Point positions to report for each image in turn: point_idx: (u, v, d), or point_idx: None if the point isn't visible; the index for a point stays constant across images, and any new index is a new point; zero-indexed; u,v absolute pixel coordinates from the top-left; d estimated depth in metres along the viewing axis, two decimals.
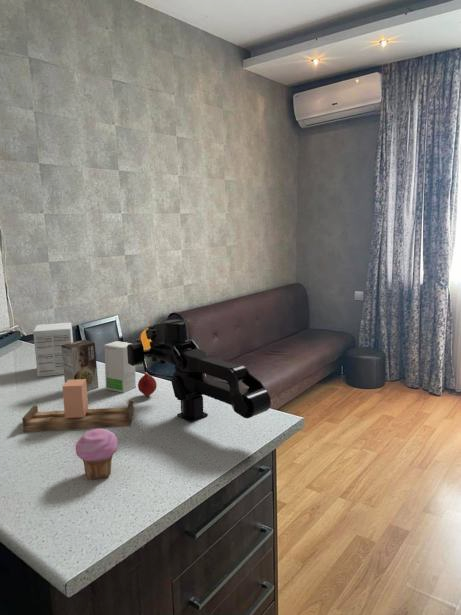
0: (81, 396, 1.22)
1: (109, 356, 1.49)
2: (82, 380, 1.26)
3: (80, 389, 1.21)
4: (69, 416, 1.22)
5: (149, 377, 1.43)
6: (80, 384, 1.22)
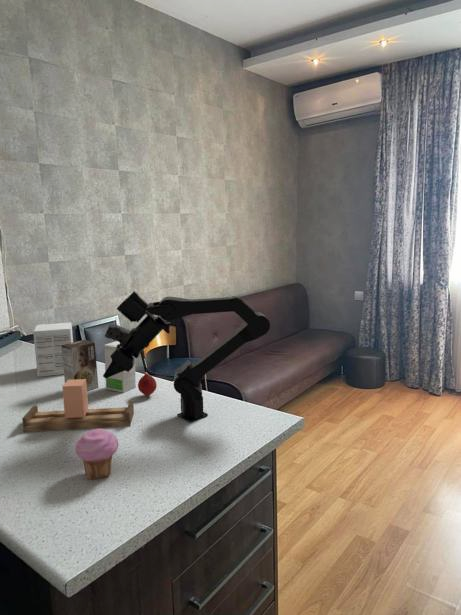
0: (81, 396, 1.22)
1: (109, 356, 1.49)
2: (82, 380, 1.26)
3: (80, 389, 1.21)
4: (69, 416, 1.22)
5: (149, 377, 1.43)
6: (80, 384, 1.22)
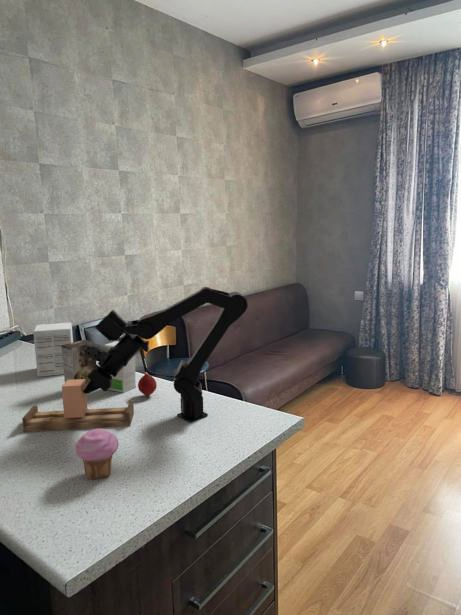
0: (80, 396, 1.22)
1: None
2: (81, 380, 1.26)
3: (79, 389, 1.21)
4: (69, 416, 1.22)
5: (149, 377, 1.43)
6: (79, 384, 1.22)
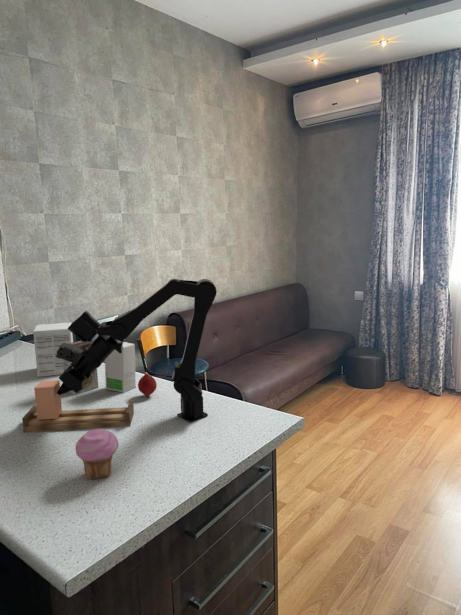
0: (53, 397, 1.21)
1: (109, 356, 1.49)
2: (55, 381, 1.25)
3: (52, 390, 1.21)
4: (42, 417, 1.22)
5: (149, 377, 1.43)
6: (52, 386, 1.21)
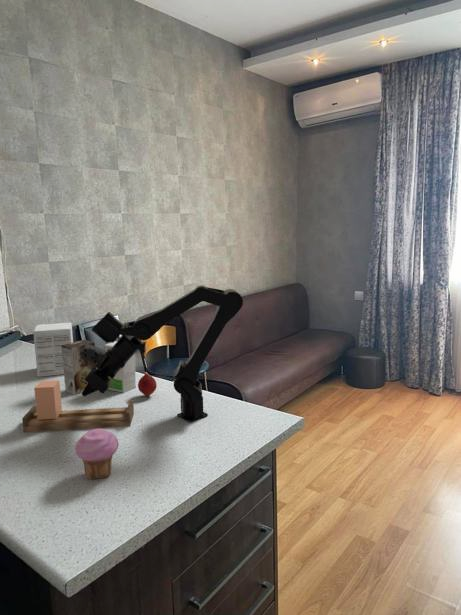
0: (53, 397, 1.21)
1: None
2: (55, 381, 1.25)
3: (52, 390, 1.21)
4: (42, 417, 1.22)
5: (149, 377, 1.43)
6: (52, 386, 1.21)
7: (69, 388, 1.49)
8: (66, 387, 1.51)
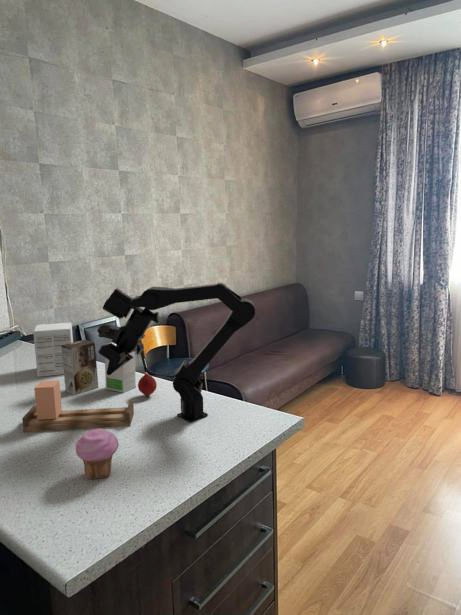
0: (53, 397, 1.21)
1: None
2: (55, 381, 1.25)
3: (52, 390, 1.21)
4: (42, 417, 1.22)
5: (149, 377, 1.43)
6: (52, 386, 1.21)
7: (69, 388, 1.49)
8: (66, 387, 1.51)
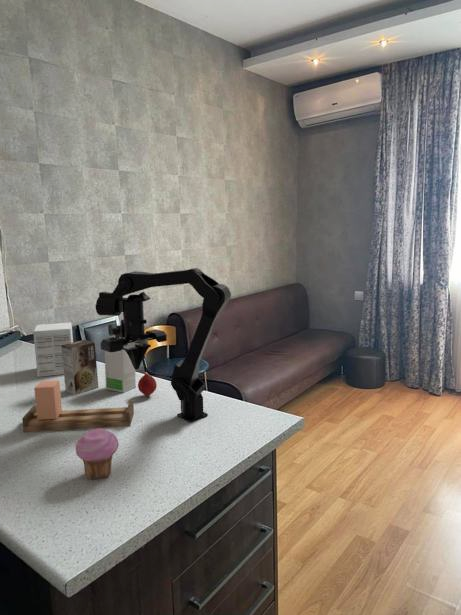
0: (53, 397, 1.21)
1: (109, 356, 1.49)
2: (55, 381, 1.25)
3: (52, 390, 1.21)
4: (42, 417, 1.22)
5: (149, 377, 1.43)
6: (52, 386, 1.21)
7: (69, 388, 1.49)
8: (66, 387, 1.51)
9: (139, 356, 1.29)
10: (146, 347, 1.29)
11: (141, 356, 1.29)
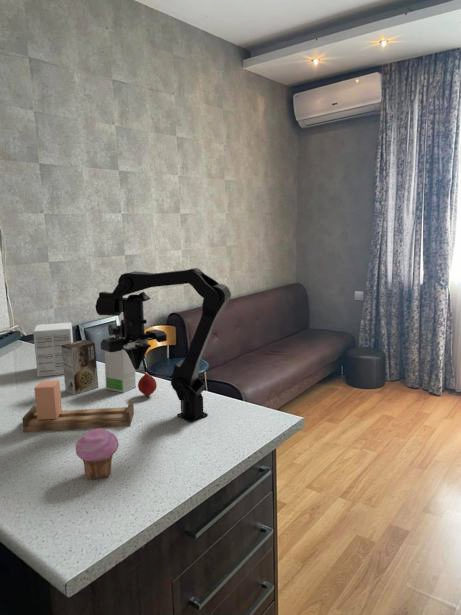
0: (53, 397, 1.21)
1: (109, 356, 1.49)
2: (55, 381, 1.25)
3: (52, 390, 1.21)
4: (42, 417, 1.22)
5: (149, 377, 1.43)
6: (52, 386, 1.21)
7: (69, 388, 1.49)
8: (66, 387, 1.51)
9: (139, 356, 1.29)
10: (146, 347, 1.29)
11: (141, 356, 1.29)
